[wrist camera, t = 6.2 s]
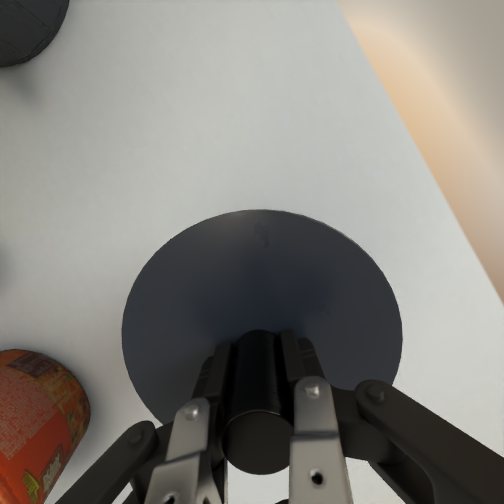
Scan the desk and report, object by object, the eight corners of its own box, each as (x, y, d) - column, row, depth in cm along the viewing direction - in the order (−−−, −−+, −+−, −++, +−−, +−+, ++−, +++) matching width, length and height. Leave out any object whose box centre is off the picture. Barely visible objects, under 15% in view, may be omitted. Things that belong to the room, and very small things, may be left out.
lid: (370, 176, 12) (482, 156, 6) (405, 421, 15) (503, 571, 9) (94, 245, 13) (-45, 285, 7) (176, 460, 16) (126, 617, 10)
